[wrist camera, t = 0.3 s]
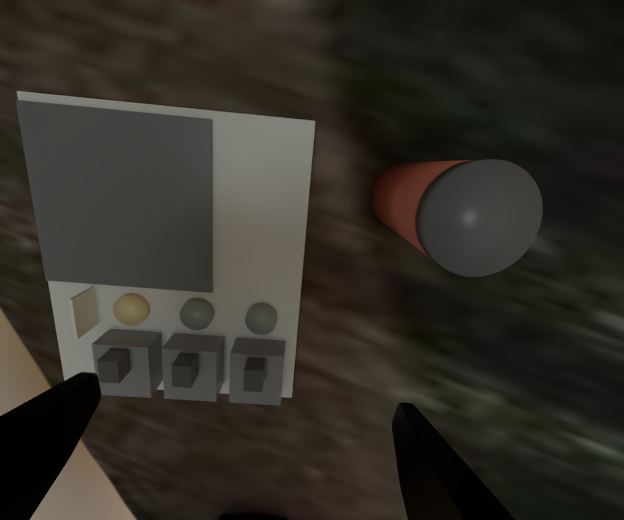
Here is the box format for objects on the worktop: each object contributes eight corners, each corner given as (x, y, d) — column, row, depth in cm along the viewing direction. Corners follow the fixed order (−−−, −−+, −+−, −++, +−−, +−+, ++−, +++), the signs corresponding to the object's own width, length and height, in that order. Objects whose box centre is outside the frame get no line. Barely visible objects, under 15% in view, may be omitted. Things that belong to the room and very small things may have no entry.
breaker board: (292, 387, 25) (289, 433, 21) (76, 373, 25) (26, 418, 20) (314, 123, 20) (317, 111, 15) (34, 95, 19) (-48, 74, 15)
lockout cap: (428, 230, 22) (523, 280, 12) (366, 225, 22) (414, 272, 12) (441, 165, 21) (558, 165, 11) (375, 159, 20) (437, 153, 11)
